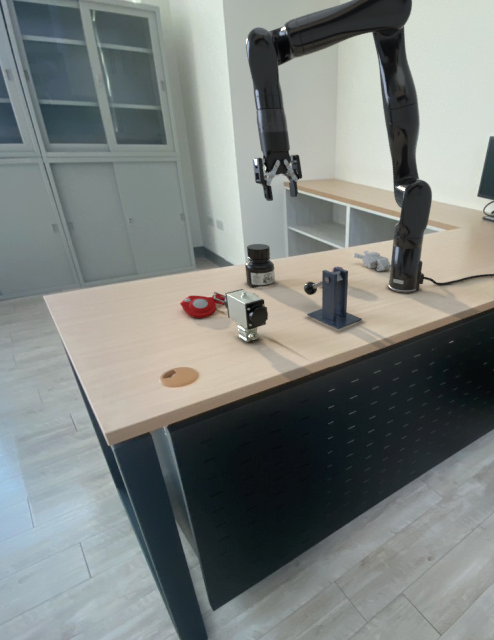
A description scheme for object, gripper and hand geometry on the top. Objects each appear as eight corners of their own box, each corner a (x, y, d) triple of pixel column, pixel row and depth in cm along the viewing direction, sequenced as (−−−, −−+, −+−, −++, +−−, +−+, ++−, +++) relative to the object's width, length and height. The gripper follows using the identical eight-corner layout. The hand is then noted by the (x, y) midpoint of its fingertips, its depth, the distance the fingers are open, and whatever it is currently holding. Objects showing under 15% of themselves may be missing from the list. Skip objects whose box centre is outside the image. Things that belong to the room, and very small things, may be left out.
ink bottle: (254, 291, 126) (251, 252, 119) (241, 283, 131) (237, 245, 125) (281, 285, 131) (279, 247, 125) (267, 277, 137) (264, 241, 130)
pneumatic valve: (254, 350, 94) (249, 301, 88) (227, 333, 101) (221, 286, 94) (273, 343, 97) (270, 295, 91) (246, 327, 104) (242, 282, 98)
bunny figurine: (379, 263, 143) (351, 248, 152) (376, 276, 147) (349, 261, 155) (397, 259, 149) (369, 245, 157) (394, 272, 152) (367, 258, 160)
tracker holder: (205, 317, 105) (171, 303, 106) (206, 329, 108) (174, 315, 109) (231, 292, 113) (199, 279, 114) (231, 304, 116) (201, 291, 117)
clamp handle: (304, 297, 113) (299, 285, 112) (313, 294, 115) (309, 282, 114) (336, 284, 102) (331, 270, 101) (345, 281, 104) (341, 267, 104)
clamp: (307, 317, 111) (306, 268, 103) (330, 309, 117) (331, 261, 109) (338, 332, 104) (339, 280, 97) (361, 322, 110) (364, 273, 103)
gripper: (259, 130, 97) (269, 202, 105) (303, 129, 106) (310, 195, 114) (241, 132, 102) (253, 201, 110) (285, 130, 111) (293, 194, 119)
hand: (282, 198), depth 112 cm, fingers open, 8 cm apart
